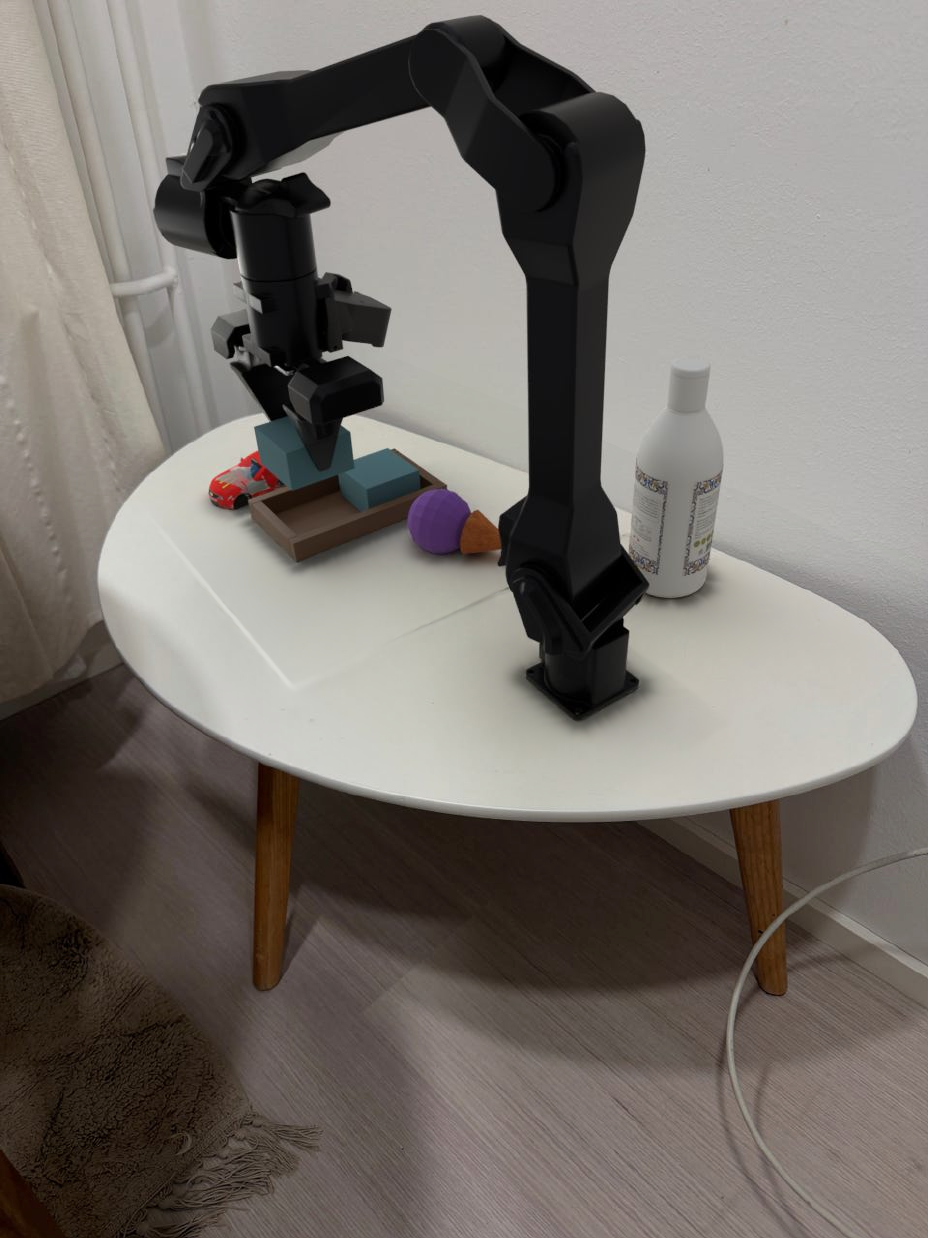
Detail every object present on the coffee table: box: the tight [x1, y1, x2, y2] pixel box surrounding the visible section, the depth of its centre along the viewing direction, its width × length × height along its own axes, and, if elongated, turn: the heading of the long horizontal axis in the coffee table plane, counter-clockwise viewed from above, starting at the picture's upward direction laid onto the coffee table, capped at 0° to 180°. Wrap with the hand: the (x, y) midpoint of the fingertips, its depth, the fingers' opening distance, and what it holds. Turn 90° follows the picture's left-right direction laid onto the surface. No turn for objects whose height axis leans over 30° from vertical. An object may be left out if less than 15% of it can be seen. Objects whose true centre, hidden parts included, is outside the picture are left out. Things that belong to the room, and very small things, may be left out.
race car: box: [208, 450, 286, 510], centre depth 96 cm, size 13×5×4 cm, turn 125°
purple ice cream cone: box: [406, 489, 501, 555], centre depth 83 cm, size 6×6×20 cm
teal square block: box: [338, 447, 420, 512], centre depth 93 cm, size 6×6×4 cm
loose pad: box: [253, 416, 355, 491], centre depth 78 cm, size 6×6×4 cm
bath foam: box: [628, 355, 725, 599], centre depth 76 cm, size 7×7×20 cm
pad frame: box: [248, 448, 448, 563], centre depth 92 cm, size 10×17×3 cm, turn 125°
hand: (306, 455), depth 79 cm, fingers closed on loose pad, 6 cm apart
